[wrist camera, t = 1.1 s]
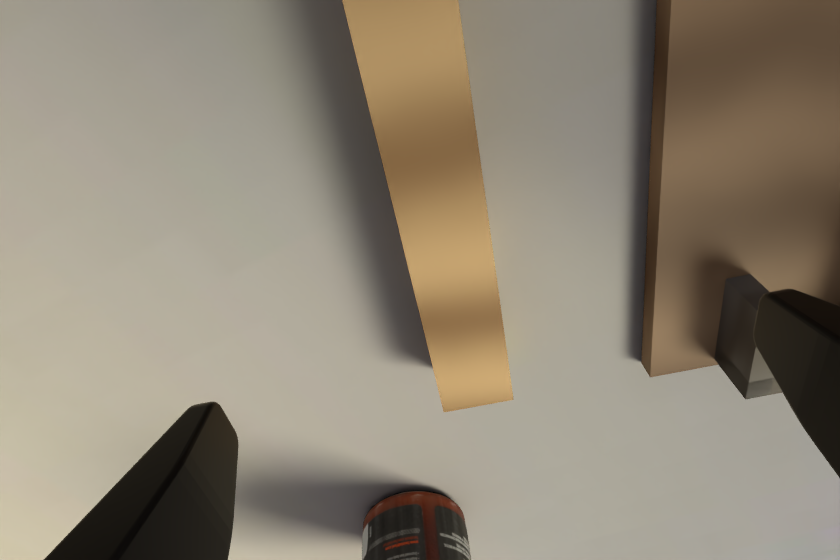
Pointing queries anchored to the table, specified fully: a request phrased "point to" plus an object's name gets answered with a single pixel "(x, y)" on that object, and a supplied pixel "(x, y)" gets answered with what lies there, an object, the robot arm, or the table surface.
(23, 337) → the table surface
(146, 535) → the robot arm
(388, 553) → the supplement bottle
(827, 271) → the endcap frame
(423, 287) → the slat
